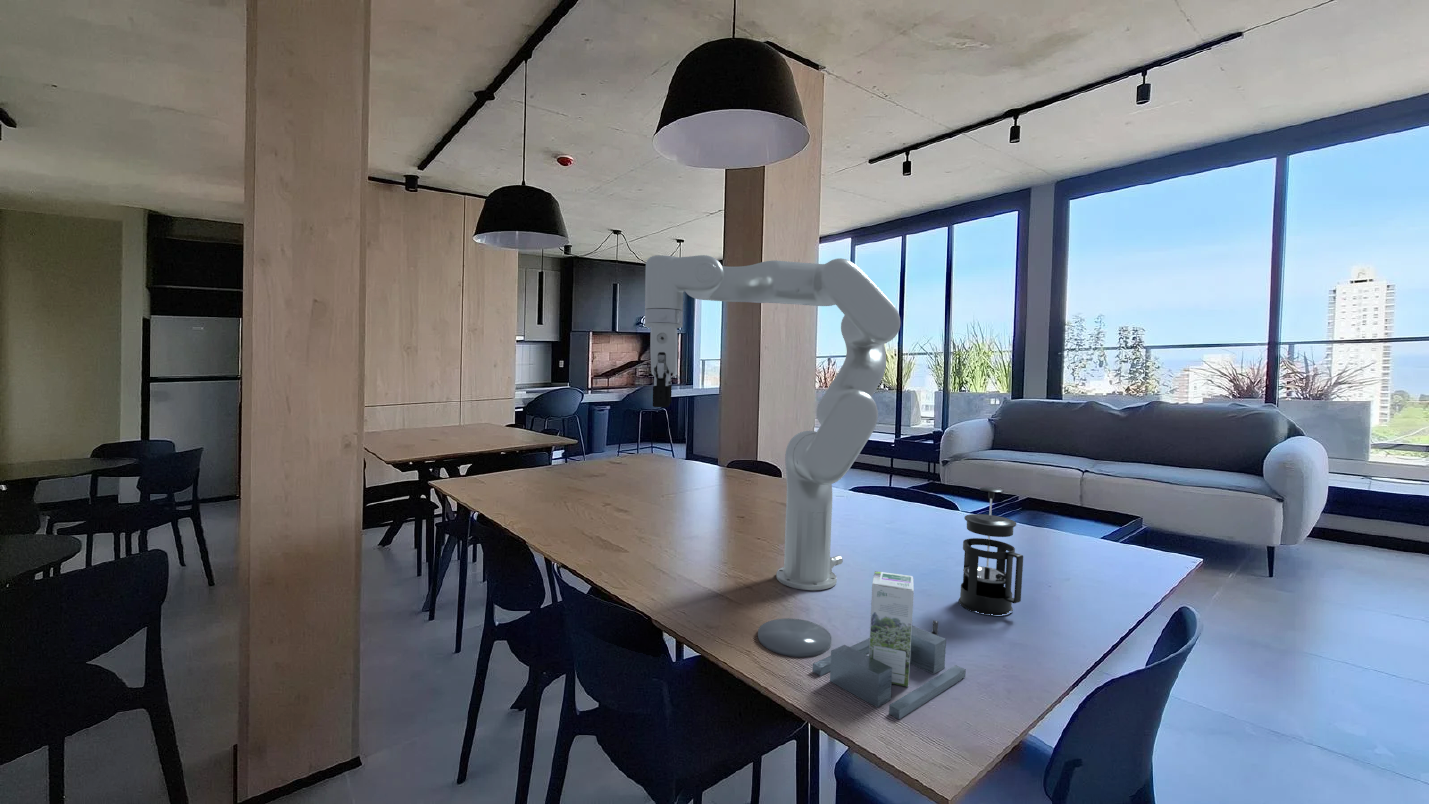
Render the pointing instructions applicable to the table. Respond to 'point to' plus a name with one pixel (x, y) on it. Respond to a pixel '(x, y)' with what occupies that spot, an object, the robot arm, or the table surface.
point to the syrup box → (892, 623)
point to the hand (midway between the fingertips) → (662, 405)
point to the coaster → (794, 637)
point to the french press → (986, 583)
